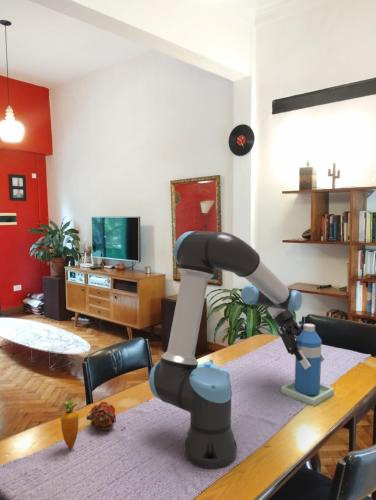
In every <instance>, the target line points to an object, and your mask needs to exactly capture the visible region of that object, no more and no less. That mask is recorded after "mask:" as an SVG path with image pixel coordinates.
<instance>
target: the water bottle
mask: <svg viewBox="0 0 376 500" xmlns="http://www.w3.org/2000/svg"><path fill="white" fill-rule="evenodd" d="M303 325H304V326H303V331H302V332H301V334H300V335H299V336H296V338H295V340H296V344H297V347H298V351H299V350H301V352H302V353H303V355H304V356H305V358H306V359H307V361H308V362H309V363H310V365H311V366H310V367H309V368H307V369H306V370H305V369H304V367H303V366H302V364H301V363H300V361H298V359H297V358H296V357H295V362H294V363H295V367H294V381H295V390H297V391H298V392H299V393H302V394H307V395H314V394H318V393H319V391H320V384H321V369H322V367H321V365H322V362H321V353H322V342H323V341H322V339H321V337H320V336H319V334H318V333H317V332H316V325H315V324H313V323H303Z"/></svg>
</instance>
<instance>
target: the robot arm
mask: <svg viewBox="0 0 376 500" xmlns="http://www.w3.org/2000/svg"><path fill="white" fill-rule="evenodd" d="M173 257H174V261H175V263H176V264H177V265H178V267H177V271H178V272H179V274H180V281H179V287H178V292H177V298H176V304H175V308H174V314H173V319H172V324H171V329H170V334H169V335H170V336H169V340H168V346H167V350H166V351H165V352H164V353H163V354H161V356H160V360H158V361H157V362H155V363H154V364H153V365H154V366H152V368H151V369H150V371H149V376H148V384H149V385H148V386H149V389H150V391H151V393H152V395H153V396H154V397H155V398H157V399H159V400H161V401H162V402H163V403H166V404H170V405H172V406H174V407H176V408H179V409H181V410H183V411H186V412H188V413H189V415H190V419H189V421H190V425H189V429H188V431H187V435H186V438H185V441H184V446H183V449H184V453H183V454H184V457H186V459H187V460H188V461H189V463H191V464H193V465H195V466H197V467H200V468H203V469H204V468H205V469H219V468H224V467H227V466H229V465H230V464H232V463H233V462H234V461H235V460H236V458H237V456H238V455H237V453H238V449H237V448H238V446H237V441H236V440H235V435H234V432H233V429H232V395H233V391H232V382H231V379H230V378H229V377H228V376H227V374H226V373H224V372H223V371H221V370H222V369H220V370H218V369H216V368H212V367H210V368H207V367H199V368H197V366H198V365H199V362H198V361H197V359H196V357H195V354H196V349H197V342H198V336H199V332H200V327H201V326H200V325H201V320H202V315H203V308H204V303H205V300H206V299H205V298H206V292H207V287H208V281H209V280H211V279H212V278H214V276H215V271H216V270H217V271H225V272H230V273H233V274H235V275H236V276H237V277H239V278H244V279H245V280H247V281H248V282H249V283H250V284H247V285H245V286H243V288H242V290H241V291H240V297H241V300H242V302H244V304H246V305H251V306H254V305H256V306H262V307H264V308H265V309H266V311H268V313H269V315H270V316H271V318H272V319H273V321H274V323H275V324H276V326H277V327H278V330H277V331H276V332H277V333H278V334H279V336H280V337H281V340H282V342H283V345H284V347H285V349H286V351H287V353H288V354H290V355H291V356H293V355H294V357H295V359H296V358H297V359H298V361H300V363H301V364H302V366H303V367H304V369H305V370H306V369H307V368H309V367H310V366H311V365H310V363H309V362H308V361H307V359H306V358H305V356H304V355H303V353H302V352H301V350H299V351H298V347H297V344H296V338H295V337H298V336H299V335H300V334H301V332H302V331H303V326H304V323H303V322H302V320H300V321H299V322H297V321H296V320H295V315H294V314H293V312H297V311H299V310H300V309H301V307H302V303H303V296H302V293H301V292H300V291H299V290H295V289H290V288H289V287H288V286H287V285H286V284H285V283H284V282H282V280H281V279H279V277H278V276H277V275H276V274H275V273H274V272H273V271H272V270H271V269H270V268H269V267H267V266H266V264H265V263H264V262H263V261H262V260H261V257H260V254H259V253H258V252H257V250H256V249H254V248H253V247H252V246H251V245H250V244H248V243H247V242H246V241H244V240H243V239H241V238H240V237H237V236H236V235H233V234H231V233H229V232H224V231H206V230H205V231H204V230H203V231H202V230H194V231H191V230H190V231H186V232H184V233H183V234H181V235H180V236H179V237H178V239H176V242H175V244H174V247H173ZM292 311H293V312H292ZM324 361H326V357H325V356H324V354H323V353H322V352H321V363H322V362H324Z"/></svg>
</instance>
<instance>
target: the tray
mask: <svg viewBox="0 0 376 500" xmlns="http://www.w3.org/2000/svg"><path fill="white" fill-rule="evenodd" d="M281 393H283V394H282V395H284V394H285V395H284V396H286V395H287V396H286V397H288V396H289V397H288V398H290V399H291V398H292V399H293V400H296V401H298V402H301V403H303V404H306V405H308V406H310V407H313V408H315V407H316V406H318V405H320V404H321V403H323V402H325V401H326V400H328V399H330V398H332V397H333V396H335V388H333V387H330V386H328V385H326V384H322V383H320V391H319V393H318V394H314V395H307V394H302V393H299V392H298V391H297V390H295V380H293V381H291V382H289V383H286V384H285V385H282V386H281V387H280V394H281Z"/></svg>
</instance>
